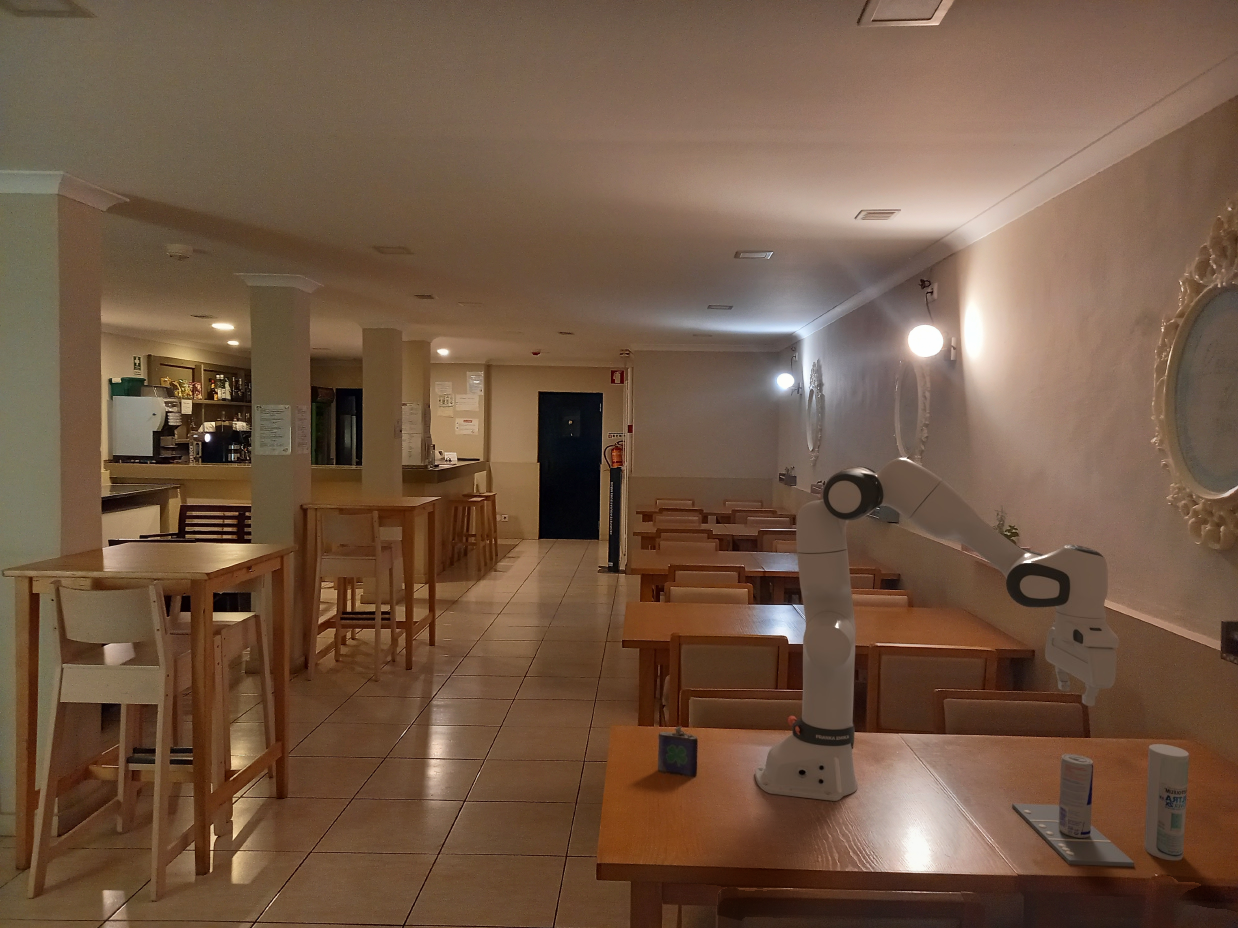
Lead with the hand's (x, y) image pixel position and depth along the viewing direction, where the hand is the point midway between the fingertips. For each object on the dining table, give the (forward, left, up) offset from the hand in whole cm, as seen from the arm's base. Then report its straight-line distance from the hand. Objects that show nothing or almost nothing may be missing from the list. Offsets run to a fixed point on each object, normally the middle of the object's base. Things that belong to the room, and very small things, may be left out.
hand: (1075, 696), depth 169 cm
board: (0, 0, -28) cm, 28 cm away
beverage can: (+1, -1, -27) cm, 27 cm away
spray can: (+15, -6, -28) cm, 32 cm away
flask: (-77, +24, -28) cm, 85 cm away
